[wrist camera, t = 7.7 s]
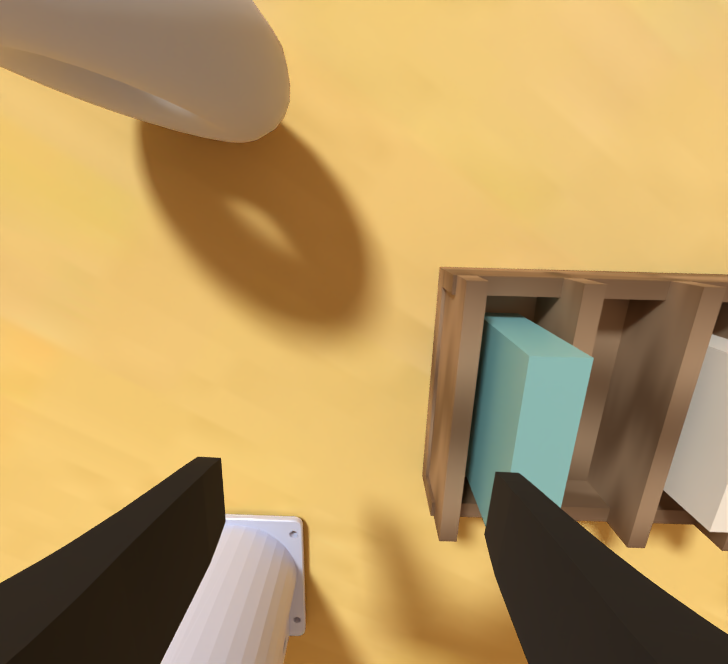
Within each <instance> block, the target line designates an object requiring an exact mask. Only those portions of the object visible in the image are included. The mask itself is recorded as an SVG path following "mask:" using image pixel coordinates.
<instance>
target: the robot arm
mask: <svg viewBox="0 0 728 664" xmlns="http://www.w3.org/2000/svg"><path fill="white" fill-rule="evenodd" d="M292 531H296V533H294V532H292ZM484 535H485V539H486V543H487V547H488V551H489V555H490V559H491V563H492V566H493V570H494V574H495V577H496V580H497V583H498V585H499V588H500V591H501V593H502V596H503V599H504V601H505V604H506V607H507V609H508V612H509V615H510V617H511V620H512V622H513V625H514V628H515V630H516V633H517V635H518V638H519V641H520V643H521V646H522V648H523V651H524V654H525V656H526V659H527V661H528V664H728V634H727V633H725V632H724V631H722V630H720V629H719V628H717V627H716V626H714V625H713V624H711V623H710V622H709V621H707V620H706V619H704V618H703V617H701V616H700V615H698V614H697V613H696V612H694V611H693V610H691V609H690V608H688V607H687V606H686V605H684V604H683V603H681V602H680V601H678V600H677V599H675V598H674V597H673V596H671V595H670V594H668V593H667V592H666V591H664V590H663V589H661V588H660V587H659V586H657V585H656V584H655V583H653V582H652V581H651V580H649V579H648V578H646V577H645V576H644V575H643V574H641V573H640V572H639V571H637V570H636V569H635V568H634V567H632V566H631V565H630V564H628V563H627V562H626V561H624V560H623V559H622V558H621V557H619V556H618V555H617V554H615V553H614V552H613V551H612V550H610V549H609V548H608V547H607V546H605V545H604V544H603V543H602V542H600V541H599V540H598V539H597V538H596V537H594V536H593V535H592V534H591V533H590V532H588V531H587V530H586V529H585V528H584V527H582V526H581V525H580V524H579V523H578V522H576V521H575V520H574V519H573V518H572V517H571V516H569V515H568V514H567V513H566V512H565V511H563V510H562V509H561V508H560V507H559V506H558V505H557V504H555V503H554V502H553V501H552V500H551V499H550V498H548V497H547V496H546V495H545V494H544V493H543V492H542V491H540V490H539V489H538V488H537V487H536V486H535V485H533V484H532V483H531V482H530V481H529V480H527V479H526V478H525V477H524V476H522V475H521V474H520V473H515V472H495V477H494V482H493V488H492V494H491V500H490V505H489V511H488V517H487V522H486V528H485V534H484ZM305 628H306V611H305V578H304V544H303V522H302V520H301V519H300V518H298V517H294V516H265V515H235V514H225V505H224V492H223V479H222V466H221V458H211V457H197V458H195V459H194V460H192V461H191V462H189V463H188V464H186V465H185V466H183V467H182V468H180V469H179V470H177V471H176V472H175V473H173V474H172V475H170V476H169V477H168V478H166V479H165V480H163V481H162V482H160V483H159V484H158V485H156V486H155V487H153V488H152V489H150V490H149V491H148V492H146V493H145V494H143V495H142V496H140V497H139V498H137V499H136V500H135V501H133V502H132V503H130V504H129V505H127V506H126V507H124V508H123V509H122V510H120V511H119V512H117V513H115V514H114V515H112V516H111V517H109V518H108V519H106V520H105V521H103V522H102V523H100V524H98V525H97V526H95V527H94V528H92V529H91V530H89V531H88V532H86V533H84V534H83V535H81V536H80V537H78V538H77V539H75V540H74V541H72V542H70V543H69V544H67V545H66V546H64V547H62V548H61V549H59V550H57V551H56V552H54V553H52V554H51V555H49V556H47V557H46V558H44V559H42V560H40V561H39V562H37V563H35V564H33V565H32V566H30V567H28V568H26V569H25V570H23V571H21V572H19V573H17V574H16V575H14V576H12V577H10V578H9V579H7V580H5V581H3V582H1V583H0V664H284V659H285V654H286V649H287V644H288V639H289V636H300V635H303V634H304V633H305Z"/></svg>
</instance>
